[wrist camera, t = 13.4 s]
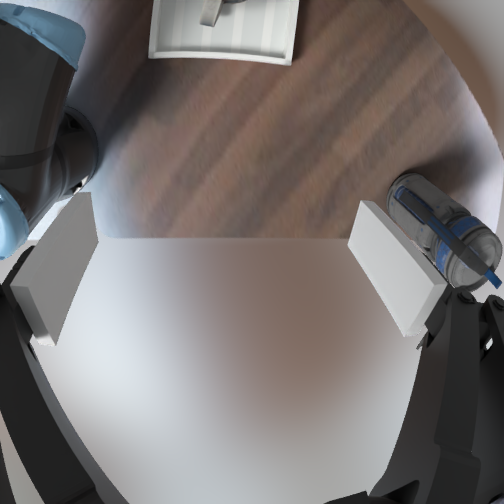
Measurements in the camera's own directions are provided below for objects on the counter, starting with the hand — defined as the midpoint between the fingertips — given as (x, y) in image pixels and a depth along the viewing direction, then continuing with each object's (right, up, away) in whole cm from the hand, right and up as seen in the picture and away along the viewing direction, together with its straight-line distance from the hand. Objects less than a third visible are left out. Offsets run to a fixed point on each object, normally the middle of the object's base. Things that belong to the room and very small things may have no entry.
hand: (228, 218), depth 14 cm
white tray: (-2, +34, +15) cm, 37 cm away
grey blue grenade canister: (+29, +10, +37) cm, 48 cm away
